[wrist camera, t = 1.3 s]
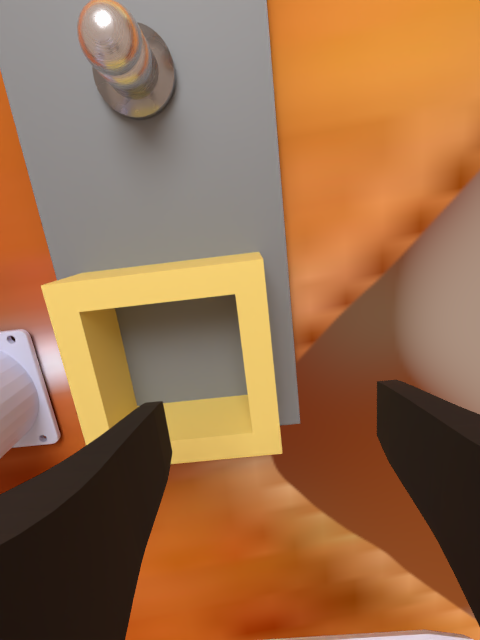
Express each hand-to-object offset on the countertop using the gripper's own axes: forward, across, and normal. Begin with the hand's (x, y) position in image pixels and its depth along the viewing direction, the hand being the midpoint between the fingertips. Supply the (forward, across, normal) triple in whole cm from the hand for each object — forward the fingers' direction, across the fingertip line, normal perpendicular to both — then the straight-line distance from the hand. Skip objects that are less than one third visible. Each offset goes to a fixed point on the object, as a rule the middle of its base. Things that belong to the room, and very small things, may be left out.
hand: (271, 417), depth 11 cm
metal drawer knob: (+9, +5, -14) cm, 17 cm away
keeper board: (+10, +5, -7) cm, 13 cm away
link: (+9, +4, 0) cm, 10 cm away
